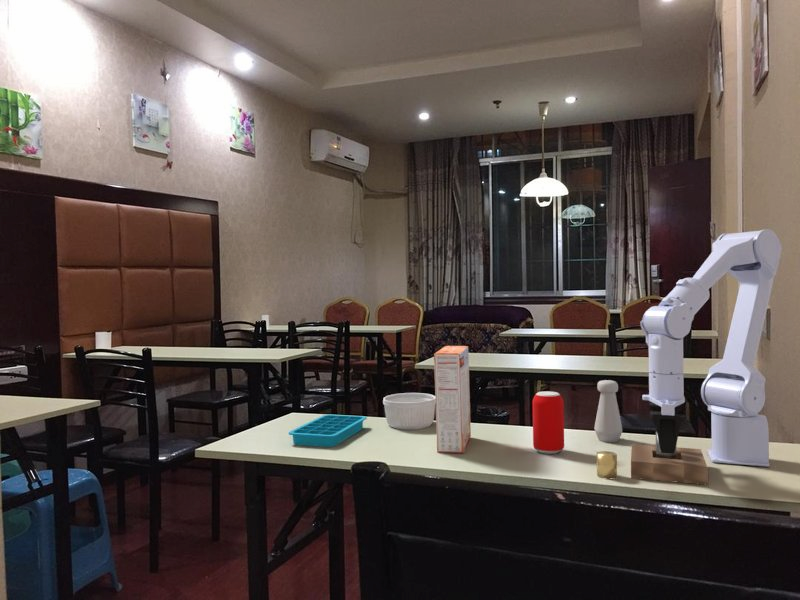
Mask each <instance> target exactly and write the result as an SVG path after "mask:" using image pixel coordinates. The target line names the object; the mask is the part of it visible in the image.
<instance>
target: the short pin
mask: <svg viewBox="0 0 800 600" xmlns="http://www.w3.org/2000/svg"><path fill="white" fill-rule="evenodd" d="M596 476H597V477H598V478H599V479H603V478H607V479H606V480H611V479H610V478H615V479H617V478H618V454H617V453H616V452H613V451H603V450H602V451H601V450H600V451H597V452H596Z"/></svg>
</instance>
